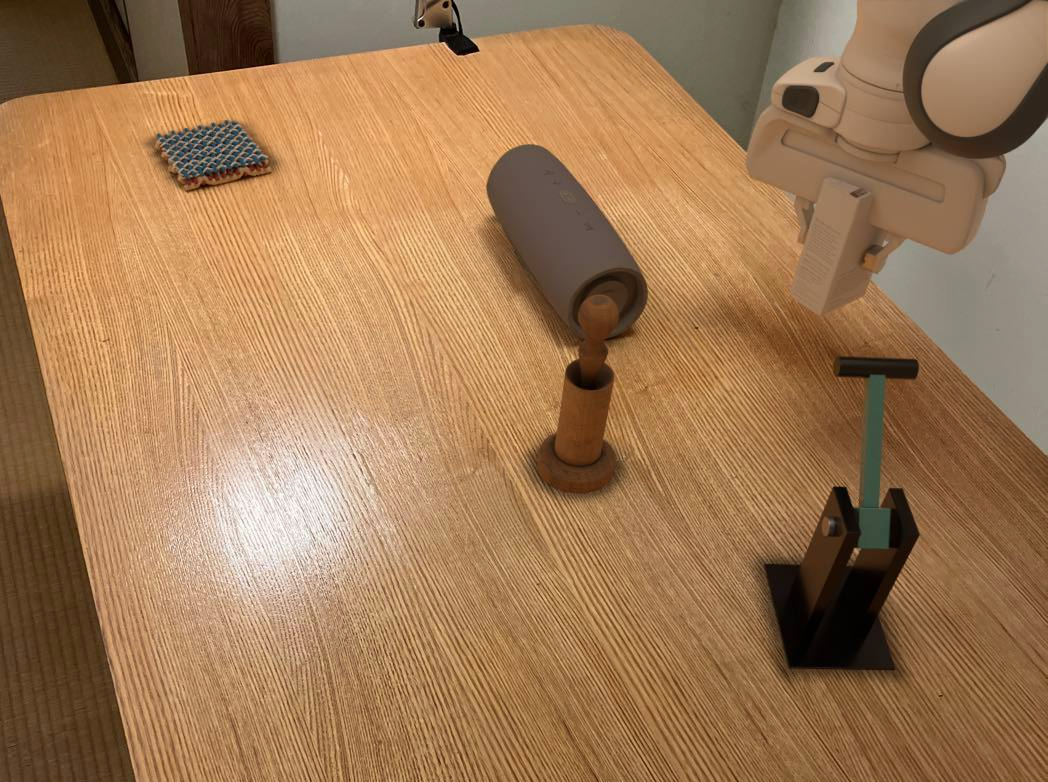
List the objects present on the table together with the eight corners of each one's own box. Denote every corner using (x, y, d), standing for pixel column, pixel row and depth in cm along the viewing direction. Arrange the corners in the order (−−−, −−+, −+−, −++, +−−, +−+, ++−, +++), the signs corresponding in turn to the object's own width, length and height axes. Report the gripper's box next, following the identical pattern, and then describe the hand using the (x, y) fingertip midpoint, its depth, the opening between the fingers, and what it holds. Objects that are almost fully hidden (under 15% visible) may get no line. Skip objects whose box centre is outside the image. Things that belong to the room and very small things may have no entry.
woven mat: (184, 195, 117) (181, 178, 116) (153, 150, 123) (150, 133, 122) (274, 175, 121) (273, 158, 120) (240, 132, 127) (238, 115, 126)
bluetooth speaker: (645, 343, 105) (662, 254, 98) (557, 359, 102) (567, 269, 95) (559, 219, 119) (568, 133, 111) (479, 230, 116) (483, 144, 109)
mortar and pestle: (572, 513, 89) (599, 338, 76) (520, 470, 92) (537, 294, 79) (628, 479, 92) (663, 305, 79) (576, 438, 95) (601, 263, 82)
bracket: (760, 573, 86) (803, 457, 76) (858, 575, 86) (912, 460, 77) (784, 676, 79) (834, 564, 70) (890, 678, 80) (954, 566, 70)
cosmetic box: (830, 276, 101) (868, 155, 92) (866, 299, 99) (909, 178, 90) (785, 296, 99) (819, 175, 90) (821, 321, 96) (861, 199, 87)
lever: (830, 357, 75) (843, 354, 73) (907, 360, 75) (922, 357, 73) (821, 545, 76) (834, 548, 73) (897, 547, 76) (912, 549, 74)
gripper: (1028, 132, 83) (964, 284, 93) (790, 53, 91) (755, 201, 101) (1000, 163, 80) (936, 317, 90) (755, 78, 87) (722, 229, 97)
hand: (839, 255), depth 95 cm, fingers closed on cosmetic box, 5 cm apart
